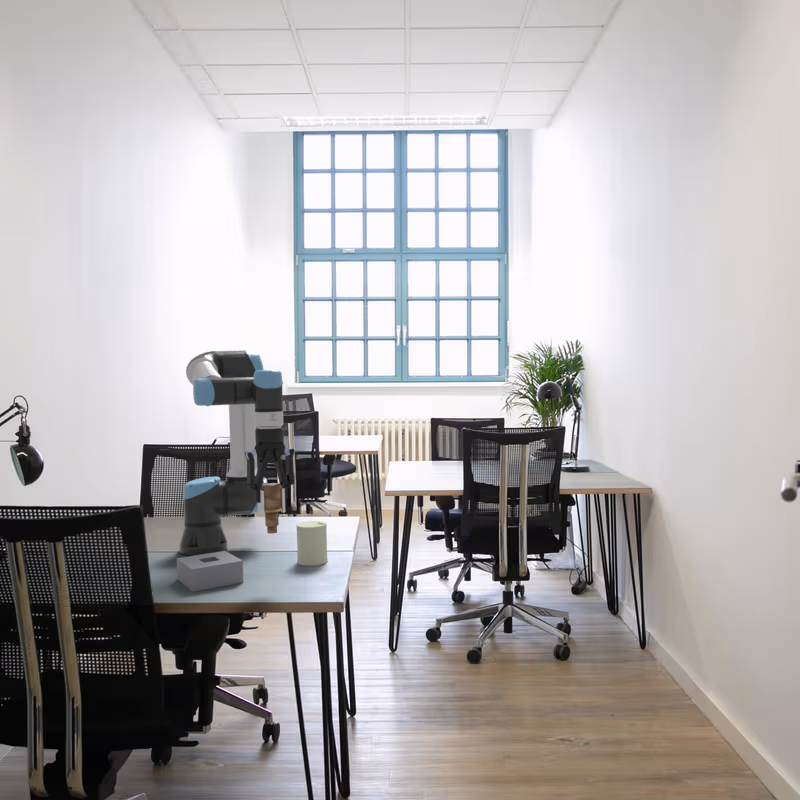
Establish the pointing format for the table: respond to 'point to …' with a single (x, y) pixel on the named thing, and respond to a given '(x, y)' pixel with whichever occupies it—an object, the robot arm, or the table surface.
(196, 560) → the socket block
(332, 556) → the table surface
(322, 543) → the can
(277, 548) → the table surface
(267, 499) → the walnut peg
